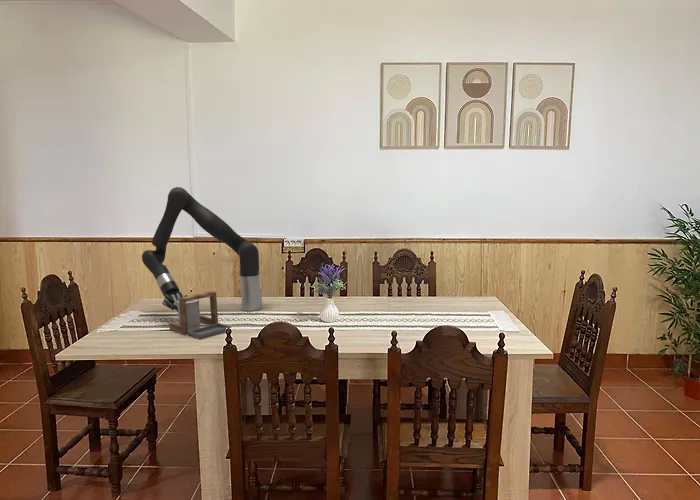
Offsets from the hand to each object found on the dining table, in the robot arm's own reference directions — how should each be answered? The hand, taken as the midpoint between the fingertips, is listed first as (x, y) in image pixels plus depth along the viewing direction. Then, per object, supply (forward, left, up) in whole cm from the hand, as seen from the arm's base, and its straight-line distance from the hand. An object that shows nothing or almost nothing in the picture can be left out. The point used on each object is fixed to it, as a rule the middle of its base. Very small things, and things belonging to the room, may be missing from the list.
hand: (183, 314), depth 286 cm
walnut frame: (0, +8, -5) cm, 10 cm away
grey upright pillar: (0, +5, -5) cm, 7 cm away
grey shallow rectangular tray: (0, +21, -5) cm, 21 cm away
